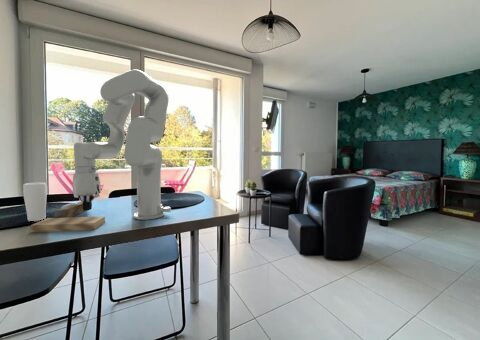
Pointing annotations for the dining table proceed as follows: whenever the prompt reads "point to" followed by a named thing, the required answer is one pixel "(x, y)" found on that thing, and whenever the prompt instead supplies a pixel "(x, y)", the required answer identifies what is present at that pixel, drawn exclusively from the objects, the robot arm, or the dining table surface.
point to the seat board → (68, 224)
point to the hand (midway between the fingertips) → (87, 209)
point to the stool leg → (69, 211)
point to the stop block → (67, 205)
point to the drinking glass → (35, 200)
